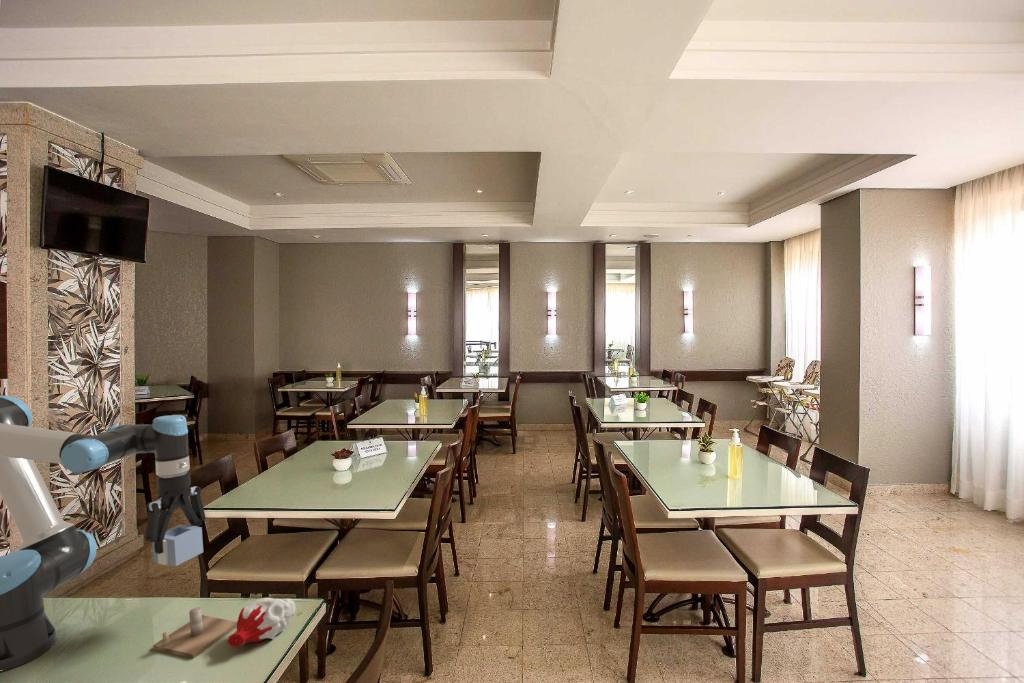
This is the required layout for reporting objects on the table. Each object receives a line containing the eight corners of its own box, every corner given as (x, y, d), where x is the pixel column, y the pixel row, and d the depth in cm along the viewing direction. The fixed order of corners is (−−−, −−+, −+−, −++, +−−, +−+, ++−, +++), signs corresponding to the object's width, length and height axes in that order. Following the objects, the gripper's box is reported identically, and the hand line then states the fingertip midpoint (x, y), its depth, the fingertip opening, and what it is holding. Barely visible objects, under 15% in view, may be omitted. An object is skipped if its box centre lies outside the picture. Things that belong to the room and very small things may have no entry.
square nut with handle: (203, 552, 140) (201, 527, 139) (176, 566, 132) (174, 539, 132) (172, 547, 143) (170, 523, 143) (144, 560, 136) (142, 535, 135)
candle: (300, 621, 133) (255, 666, 119) (266, 614, 137) (218, 656, 123) (295, 590, 131) (249, 632, 117) (261, 584, 135) (212, 623, 121)
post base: (153, 649, 124) (151, 621, 124) (200, 618, 137) (199, 593, 136) (193, 658, 120) (191, 630, 120) (238, 625, 133) (236, 600, 132)
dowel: (162, 646, 124) (161, 634, 124) (166, 643, 125) (166, 631, 125) (165, 647, 123) (164, 635, 123) (170, 644, 125) (169, 632, 124)
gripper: (144, 487, 125) (151, 577, 126) (217, 463, 144) (222, 540, 146) (123, 485, 127) (129, 573, 128) (197, 461, 147) (202, 538, 148)
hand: (178, 556), depth 137 cm, fingers closed on square nut with handle, 8 cm apart
